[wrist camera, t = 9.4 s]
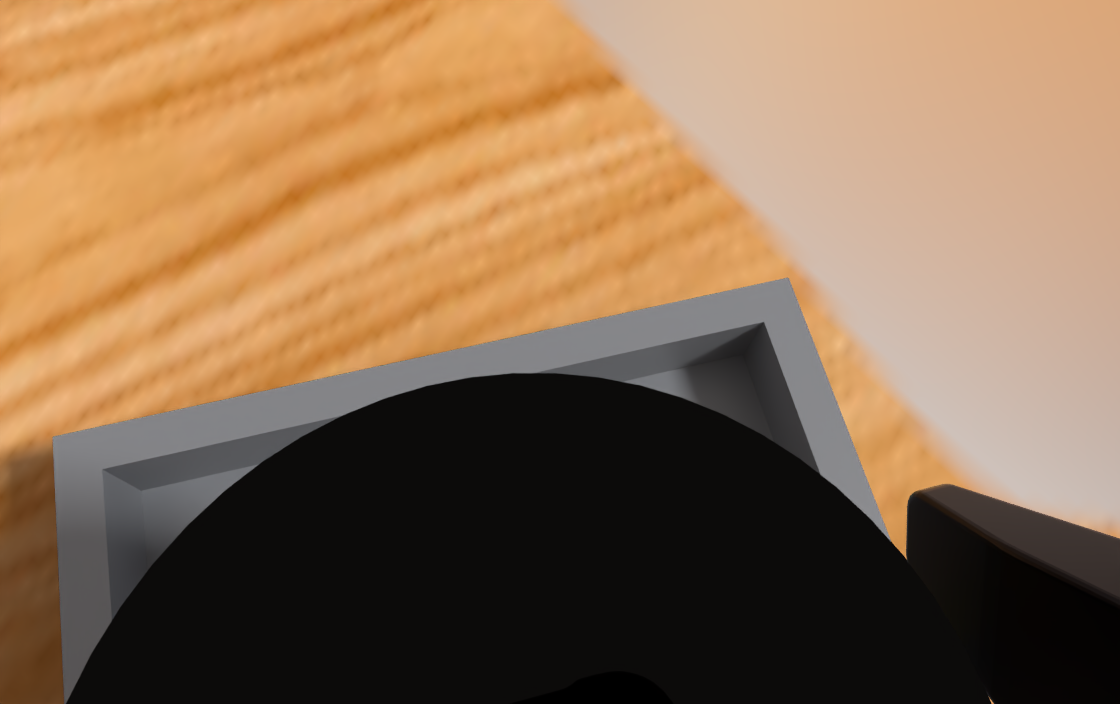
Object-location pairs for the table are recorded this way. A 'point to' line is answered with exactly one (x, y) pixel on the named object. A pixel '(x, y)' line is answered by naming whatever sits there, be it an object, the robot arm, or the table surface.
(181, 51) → the table surface
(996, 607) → the robot arm
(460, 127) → the table surface
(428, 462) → the supplement container
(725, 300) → the tray
